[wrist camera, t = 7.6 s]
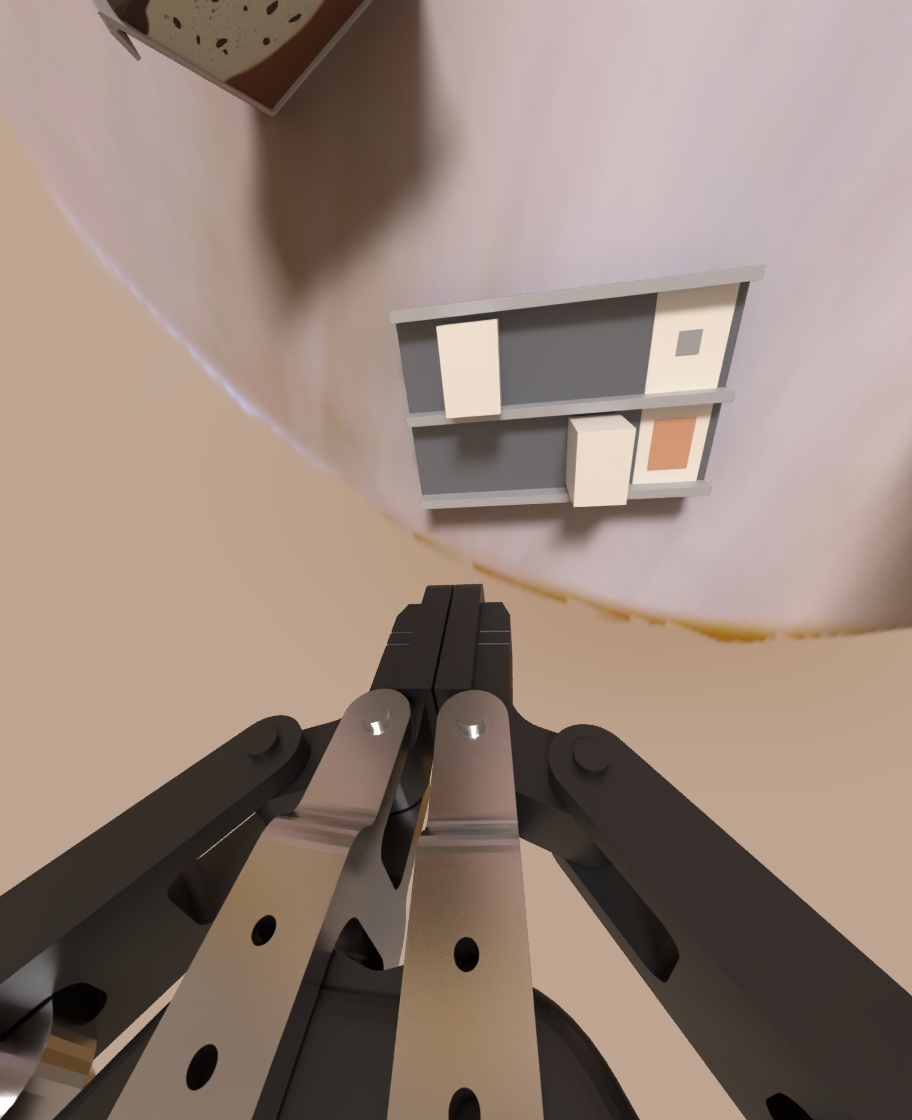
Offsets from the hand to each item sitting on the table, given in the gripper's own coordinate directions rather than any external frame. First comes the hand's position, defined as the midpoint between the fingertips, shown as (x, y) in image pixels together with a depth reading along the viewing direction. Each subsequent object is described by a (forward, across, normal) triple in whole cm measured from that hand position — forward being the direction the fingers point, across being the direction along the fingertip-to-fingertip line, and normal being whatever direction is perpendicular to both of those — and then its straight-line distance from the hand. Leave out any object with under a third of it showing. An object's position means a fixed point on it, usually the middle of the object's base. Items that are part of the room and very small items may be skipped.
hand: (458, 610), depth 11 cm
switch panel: (+20, -4, -2) cm, 21 cm away
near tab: (+18, 0, -5) cm, 19 cm away
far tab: (+18, -7, +1) cm, 19 cm away
